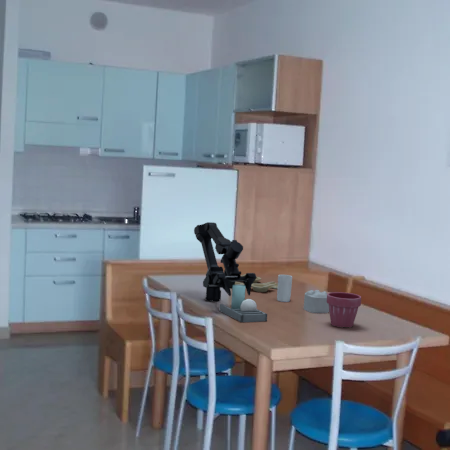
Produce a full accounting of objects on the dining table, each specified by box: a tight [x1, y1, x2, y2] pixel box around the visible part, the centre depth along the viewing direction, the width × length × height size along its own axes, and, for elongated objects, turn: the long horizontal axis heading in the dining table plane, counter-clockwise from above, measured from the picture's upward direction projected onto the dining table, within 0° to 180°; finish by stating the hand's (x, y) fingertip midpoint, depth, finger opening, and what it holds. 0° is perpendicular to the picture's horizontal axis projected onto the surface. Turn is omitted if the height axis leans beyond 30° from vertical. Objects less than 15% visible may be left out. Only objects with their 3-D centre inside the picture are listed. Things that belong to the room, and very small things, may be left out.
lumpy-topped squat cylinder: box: [303, 289, 329, 314], centre depth 320 cm, size 10×13×9 cm
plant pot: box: [327, 291, 362, 328], centre depth 293 cm, size 14×14×13 cm
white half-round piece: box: [240, 298, 258, 311], centre depth 297 cm, size 1×7×7 cm, turn 116°
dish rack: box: [219, 303, 268, 323], centre depth 298 cm, size 21×12×3 cm, turn 25°
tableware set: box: [235, 273, 278, 293], centre depth 369 cm, size 35×29×4 cm
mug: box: [276, 274, 293, 303], centre depth 338 cm, size 10×7×12 cm, turn 15°
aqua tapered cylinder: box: [230, 284, 246, 309], centre depth 303 cm, size 6×6×12 cm
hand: (239, 295), depth 301 cm, fingers open, 9 cm apart
